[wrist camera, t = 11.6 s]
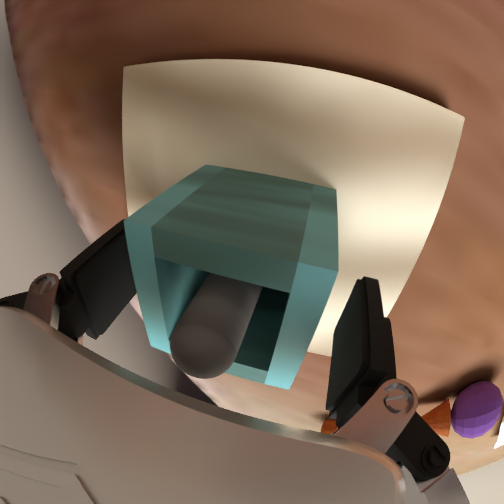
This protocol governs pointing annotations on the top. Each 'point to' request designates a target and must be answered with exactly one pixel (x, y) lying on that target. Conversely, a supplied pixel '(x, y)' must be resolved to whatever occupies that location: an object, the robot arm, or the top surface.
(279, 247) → the open box
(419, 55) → the top surface
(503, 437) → the salad plate
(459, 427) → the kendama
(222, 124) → the cream peg stand
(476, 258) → the top surface
